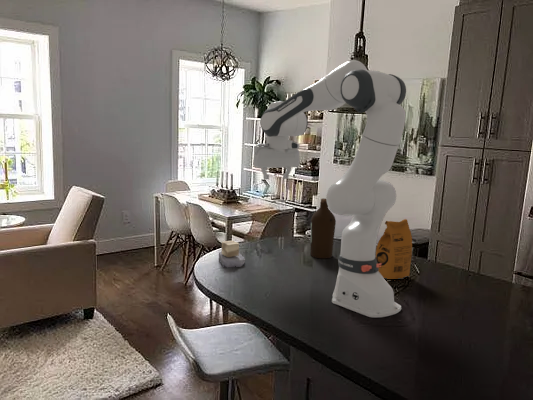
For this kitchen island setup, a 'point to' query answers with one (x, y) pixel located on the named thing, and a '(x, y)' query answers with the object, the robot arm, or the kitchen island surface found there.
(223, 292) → the kitchen island surface
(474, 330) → the kitchen island surface
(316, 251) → the olive oil
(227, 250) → the maple block
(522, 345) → the kitchen island surface
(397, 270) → the coffee package
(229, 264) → the stone block
